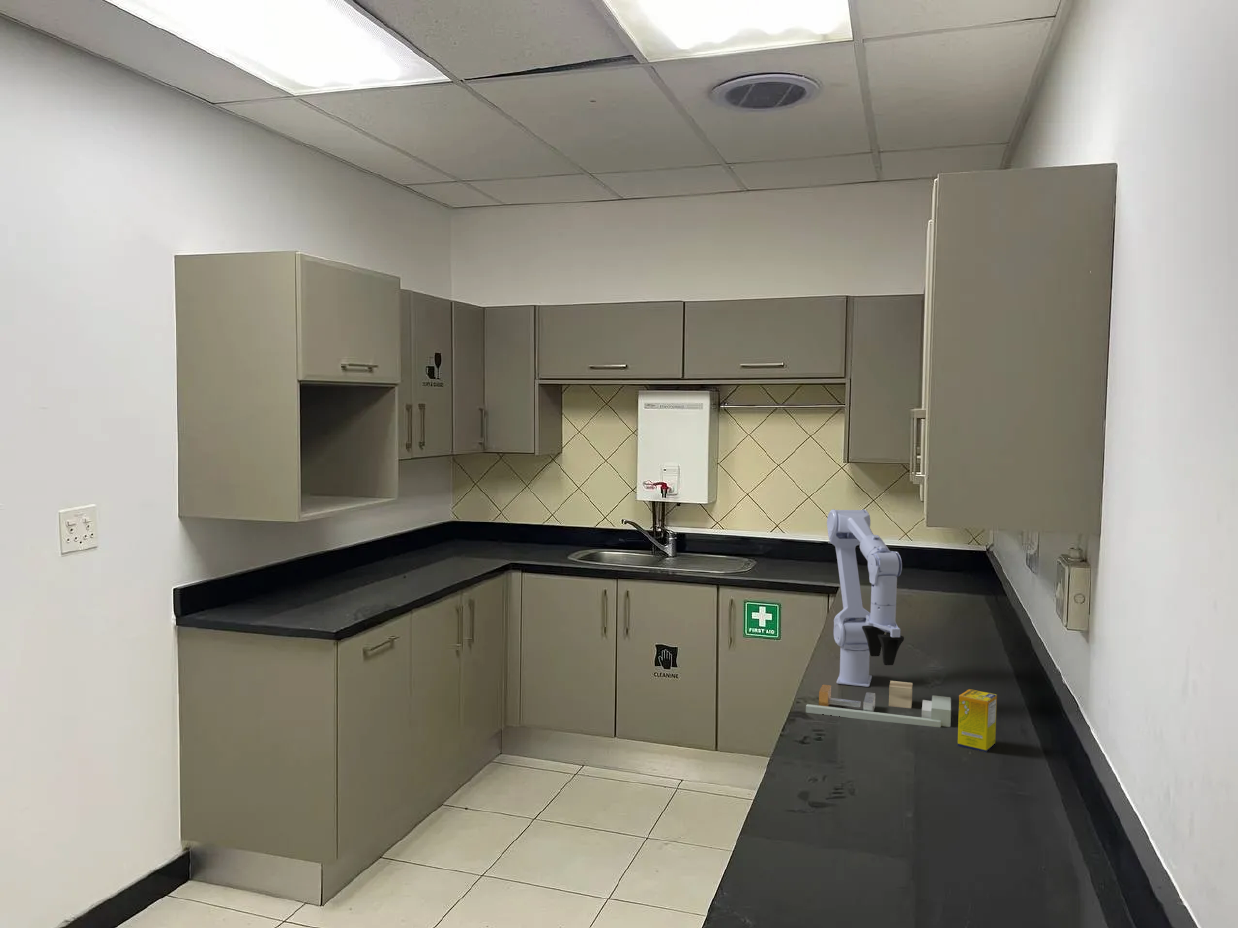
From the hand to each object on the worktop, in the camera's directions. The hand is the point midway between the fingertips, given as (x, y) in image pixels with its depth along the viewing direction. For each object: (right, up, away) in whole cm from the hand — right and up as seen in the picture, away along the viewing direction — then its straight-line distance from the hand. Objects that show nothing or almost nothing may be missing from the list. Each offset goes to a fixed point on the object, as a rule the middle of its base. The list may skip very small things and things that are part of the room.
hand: (881, 660), depth 217 cm
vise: (-3, -11, -7) cm, 13 cm away
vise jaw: (-9, -10, -4) cm, 14 cm away
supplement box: (+12, -12, -28) cm, 32 cm away
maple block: (+4, -11, -1) cm, 11 cm away
